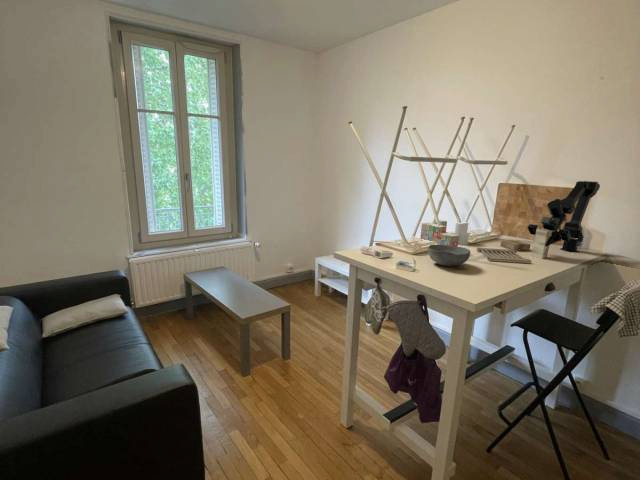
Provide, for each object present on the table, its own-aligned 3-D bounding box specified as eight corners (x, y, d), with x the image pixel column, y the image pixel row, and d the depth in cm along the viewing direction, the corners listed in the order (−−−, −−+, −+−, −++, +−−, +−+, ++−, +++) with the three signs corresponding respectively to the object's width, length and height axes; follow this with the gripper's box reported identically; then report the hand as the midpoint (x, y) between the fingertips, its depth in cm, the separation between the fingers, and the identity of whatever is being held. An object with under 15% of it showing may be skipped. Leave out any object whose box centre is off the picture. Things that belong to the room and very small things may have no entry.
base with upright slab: (463, 245, 191) (465, 224, 188) (448, 242, 197) (450, 222, 195) (470, 243, 196) (473, 223, 193) (456, 240, 203) (458, 220, 200)
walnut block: (515, 246, 194) (516, 240, 193) (529, 251, 184) (530, 244, 183) (500, 247, 192) (501, 240, 191) (513, 251, 182) (514, 244, 182)
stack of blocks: (457, 252, 175) (460, 229, 172) (448, 253, 172) (451, 230, 169) (427, 243, 193) (430, 222, 190) (419, 244, 191) (421, 222, 188)
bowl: (465, 261, 158) (467, 245, 157) (471, 273, 142) (473, 254, 140) (425, 257, 163) (427, 241, 161) (426, 268, 147) (428, 250, 145)
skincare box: (445, 241, 198) (447, 221, 196) (439, 242, 197) (441, 221, 194) (437, 239, 204) (440, 219, 201) (432, 239, 203) (434, 219, 200)
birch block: (536, 255, 175) (541, 228, 172) (546, 257, 171) (552, 230, 168) (531, 256, 173) (536, 229, 169) (541, 258, 168) (547, 231, 165)
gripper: (532, 208, 176) (517, 230, 173) (573, 214, 161) (556, 238, 158) (537, 222, 182) (523, 244, 179) (577, 229, 166) (561, 252, 163)
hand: (540, 244), depth 170 cm, fingers closed on birch block, 5 cm apart
